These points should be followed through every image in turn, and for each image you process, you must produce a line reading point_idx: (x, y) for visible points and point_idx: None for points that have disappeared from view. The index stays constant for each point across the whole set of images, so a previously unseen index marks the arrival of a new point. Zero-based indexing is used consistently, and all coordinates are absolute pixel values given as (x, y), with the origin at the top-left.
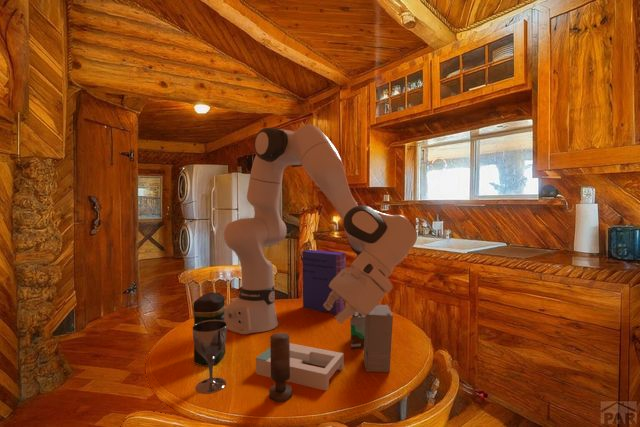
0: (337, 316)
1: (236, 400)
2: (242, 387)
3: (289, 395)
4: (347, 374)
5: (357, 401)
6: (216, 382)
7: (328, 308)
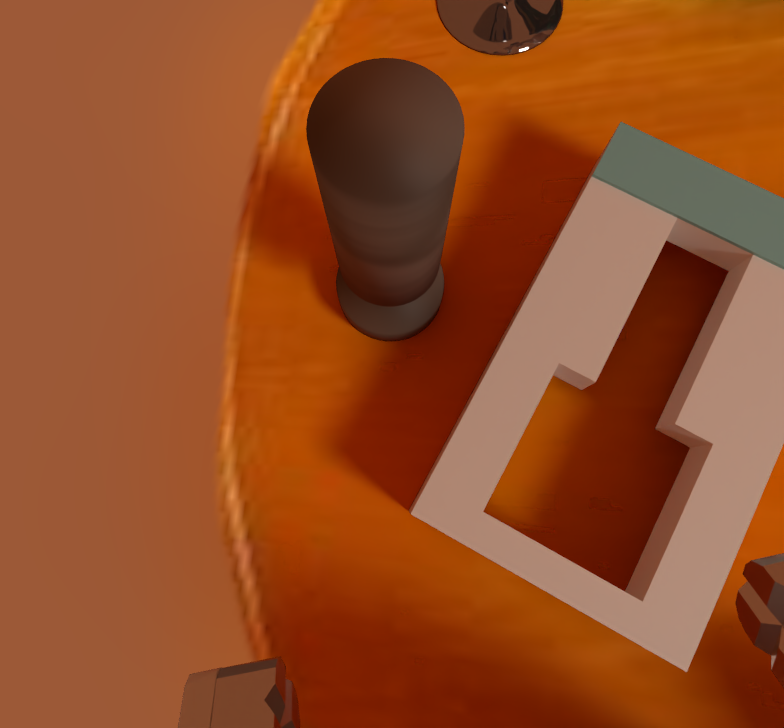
0: (212, 703)
1: None
2: (473, 125)
3: (357, 325)
4: (567, 656)
5: (300, 662)
6: (500, 10)
7: (754, 617)
